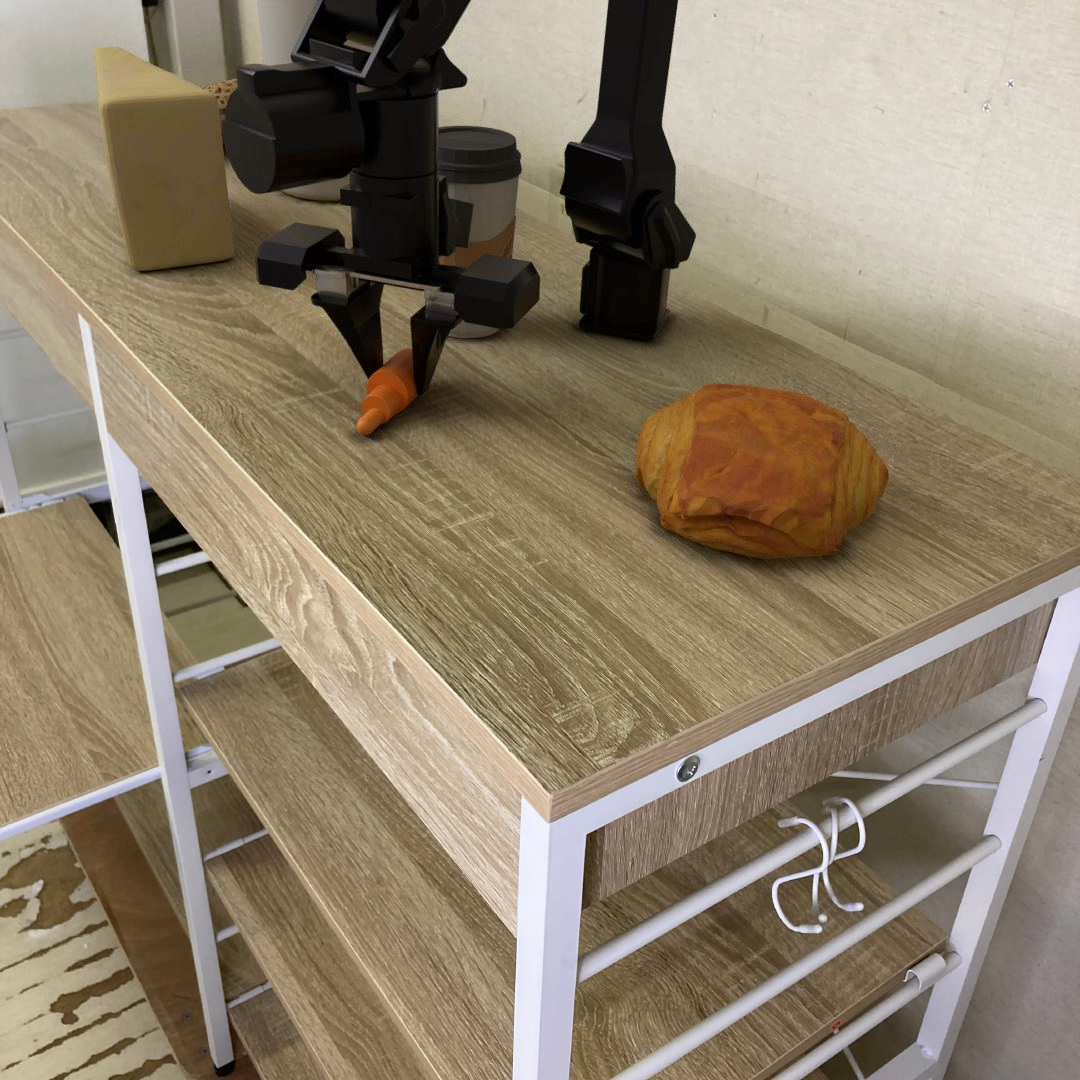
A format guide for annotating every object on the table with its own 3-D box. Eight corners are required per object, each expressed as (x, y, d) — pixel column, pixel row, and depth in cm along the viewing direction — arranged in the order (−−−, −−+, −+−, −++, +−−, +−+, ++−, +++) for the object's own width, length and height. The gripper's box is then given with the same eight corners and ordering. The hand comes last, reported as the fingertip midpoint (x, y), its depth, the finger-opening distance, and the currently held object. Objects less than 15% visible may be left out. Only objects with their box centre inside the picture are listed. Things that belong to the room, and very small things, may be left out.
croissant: (667, 458, 78) (665, 351, 74) (894, 482, 72) (905, 367, 68) (597, 557, 67) (591, 437, 63) (860, 595, 61) (871, 465, 57)
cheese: (80, 203, 112) (51, 44, 103) (177, 193, 116) (156, 40, 108) (129, 276, 96) (98, 96, 88) (238, 261, 100) (219, 88, 92)
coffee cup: (503, 350, 87) (509, 157, 78) (403, 337, 88) (398, 145, 80) (526, 311, 94) (533, 129, 85) (432, 299, 95) (430, 119, 86)
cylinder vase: (269, 202, 115) (244, -68, 101) (278, 169, 125) (256, -81, 111) (389, 203, 116) (381, -63, 102) (388, 170, 127) (380, -77, 113)
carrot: (382, 443, 74) (382, 401, 72) (340, 432, 74) (339, 390, 73) (444, 381, 82) (445, 342, 80) (405, 372, 83) (405, 333, 81)
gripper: (571, 155, 74) (558, 368, 82) (324, 121, 78) (336, 325, 87) (514, 200, 65) (506, 433, 74) (239, 158, 69) (262, 381, 78)
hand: (399, 388), depth 78 cm, fingers closed on carrot, 3 cm apart
